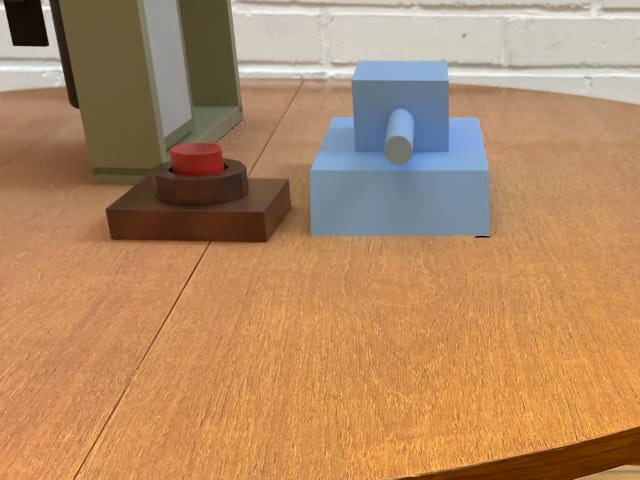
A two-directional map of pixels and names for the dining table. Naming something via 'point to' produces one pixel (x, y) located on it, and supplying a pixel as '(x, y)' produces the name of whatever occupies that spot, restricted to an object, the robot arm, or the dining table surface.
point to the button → (197, 159)
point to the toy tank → (400, 159)
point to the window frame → (151, 79)
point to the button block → (200, 206)
